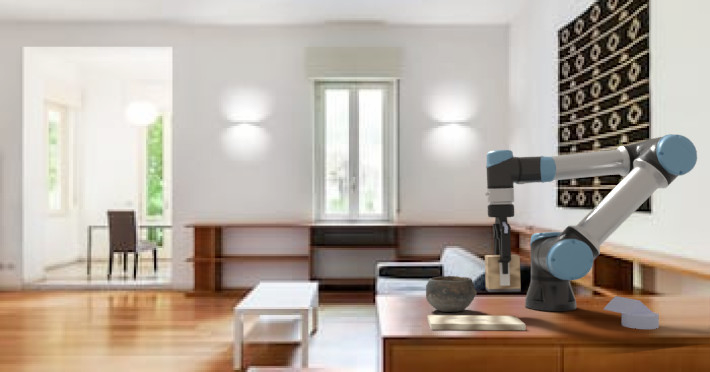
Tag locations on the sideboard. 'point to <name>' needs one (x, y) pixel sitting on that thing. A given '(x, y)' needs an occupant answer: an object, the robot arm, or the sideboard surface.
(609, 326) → the sideboard surface
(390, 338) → the sideboard surface
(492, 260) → the block
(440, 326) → the board
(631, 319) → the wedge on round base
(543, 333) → the sideboard surface
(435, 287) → the bowl
